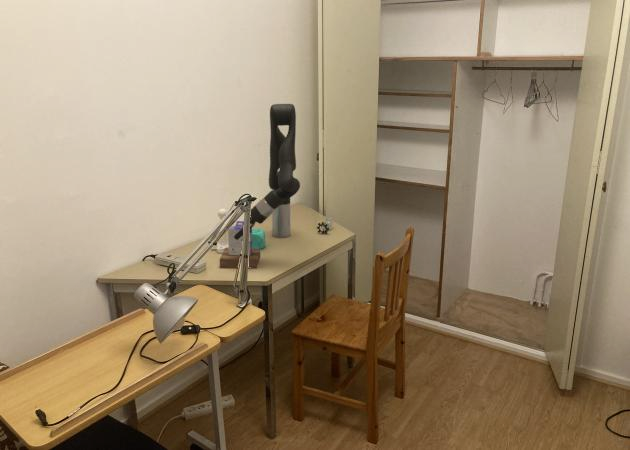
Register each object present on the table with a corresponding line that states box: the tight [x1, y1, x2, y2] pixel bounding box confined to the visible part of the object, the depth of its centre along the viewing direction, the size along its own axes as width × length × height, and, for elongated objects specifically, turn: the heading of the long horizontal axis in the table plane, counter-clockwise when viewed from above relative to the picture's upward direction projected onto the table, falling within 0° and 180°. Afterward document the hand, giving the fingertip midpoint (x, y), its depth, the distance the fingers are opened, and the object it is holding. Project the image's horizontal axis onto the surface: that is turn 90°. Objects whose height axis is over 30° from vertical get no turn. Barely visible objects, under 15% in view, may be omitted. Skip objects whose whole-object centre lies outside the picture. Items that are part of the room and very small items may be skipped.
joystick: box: [211, 208, 228, 254], centre depth 248 cm, size 11×8×20 cm
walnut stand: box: [219, 248, 261, 269], centre depth 237 cm, size 14×16×4 cm
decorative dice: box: [252, 228, 266, 250], centre depth 256 cm, size 8×8×8 cm
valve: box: [316, 216, 334, 235], centre depth 281 cm, size 7×7×12 cm
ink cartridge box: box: [227, 220, 253, 256], centre depth 234 cm, size 10×6×14 cm, turn 85°
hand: (236, 235), depth 234 cm, fingers open, 8 cm apart
